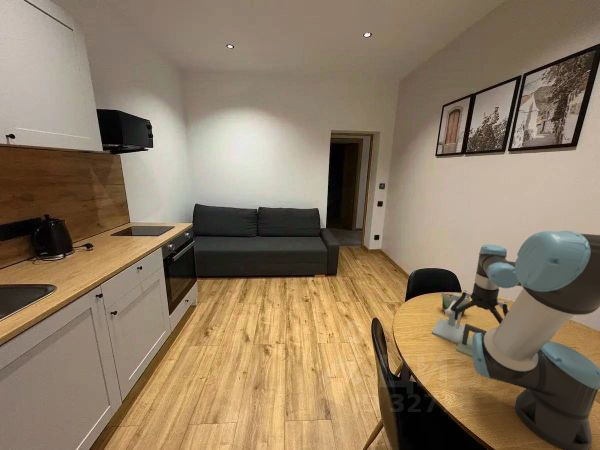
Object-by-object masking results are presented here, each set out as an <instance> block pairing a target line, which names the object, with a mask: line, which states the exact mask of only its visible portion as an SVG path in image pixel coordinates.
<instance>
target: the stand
mask: <svg viewBox="0 0 600 450" xmlns="http://www.w3.org/2000/svg"><path fill="white" fill-rule="evenodd" d="M452 295H453V297H452V303H451V305H450V306H449V308H448V309H446V310H445V313H444V314H445V316H446V317H448V320H447V319H445V318H443V317H440V318H439V319H438V322H437V323H436V324H435V326H434V327H433V329H432V331H431V334H432V335H433V336H436V337H439V338H440V339H443V340H446V341H447V342H450V343H452V344H455V345H456V346H457V345H458V343H459V341H460V338H461V336H462V334H463V333H464V328H465V325H464V326H463V325H461V324H460V326H459V328H458V329H456V325H457V320H455V319H454V318H455V312H454V311H452V310H451V307H452V305H453V304H454V303H455V302H456V301H457V300H458V299H459V298H460V296H461V294H460V293H459V294H458V293H455V292H453V294H452ZM456 308H458V306H457V307H456Z"/></svg>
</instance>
